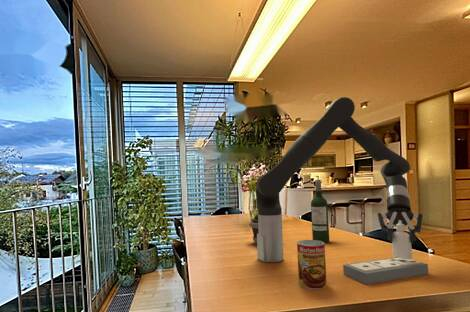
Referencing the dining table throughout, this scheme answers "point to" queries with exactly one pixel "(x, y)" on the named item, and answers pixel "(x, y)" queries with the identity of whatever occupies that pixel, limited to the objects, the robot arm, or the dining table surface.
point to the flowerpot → (255, 228)
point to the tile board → (384, 270)
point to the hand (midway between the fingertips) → (401, 240)
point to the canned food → (311, 264)
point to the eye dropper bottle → (401, 242)
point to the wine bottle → (319, 215)
